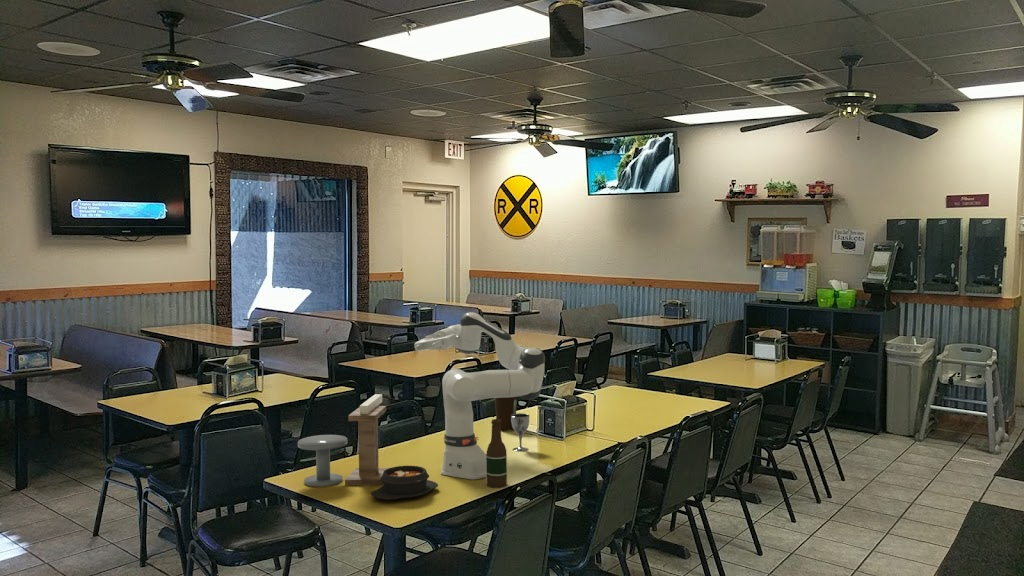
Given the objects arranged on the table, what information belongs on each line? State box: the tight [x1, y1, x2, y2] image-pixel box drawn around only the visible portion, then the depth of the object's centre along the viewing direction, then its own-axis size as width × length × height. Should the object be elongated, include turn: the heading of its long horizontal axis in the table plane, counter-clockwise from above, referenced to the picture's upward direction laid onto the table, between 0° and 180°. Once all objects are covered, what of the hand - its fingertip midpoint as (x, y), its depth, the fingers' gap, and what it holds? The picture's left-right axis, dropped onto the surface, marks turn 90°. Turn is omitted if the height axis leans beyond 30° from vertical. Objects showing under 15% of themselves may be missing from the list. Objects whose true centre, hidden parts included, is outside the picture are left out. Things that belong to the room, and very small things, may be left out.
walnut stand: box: [344, 405, 390, 486], centre depth 279 cm, size 18×14×26 cm
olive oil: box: [494, 396, 518, 431], centre depth 361 cm, size 11×11×25 cm
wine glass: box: [511, 412, 530, 453], centre depth 321 cm, size 8×8×15 cm
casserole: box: [370, 465, 439, 501], centre depth 260 cm, size 25×19×8 cm
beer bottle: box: [486, 418, 508, 489], centre depth 270 cm, size 8×8×24 cm
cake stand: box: [297, 434, 348, 488], centre depth 277 cm, size 18×18×16 cm
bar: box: [359, 393, 383, 414], centre depth 285 cm, size 24×3×3 cm, turn 177°
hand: (424, 347), depth 317 cm, fingers open, 8 cm apart
